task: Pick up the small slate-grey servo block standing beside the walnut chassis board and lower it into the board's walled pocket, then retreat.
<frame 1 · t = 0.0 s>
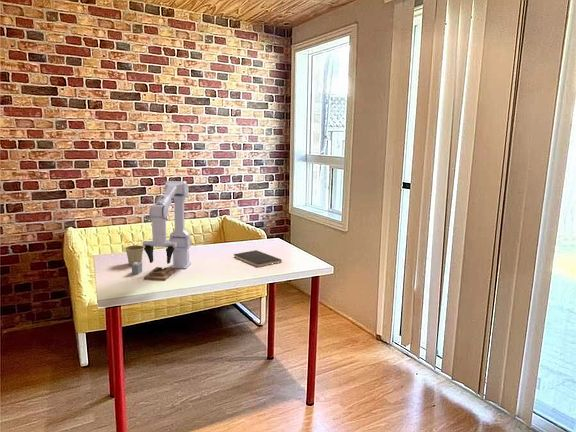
hand: (160, 262, 181), 10 cm above the table, tool pointing down, fingers open, 7 cm apart
servo block: (137, 272, 198), on the table
flower pot: (135, 264, 212), on the table
chassis board: (160, 275, 195), on the table
hardcover book: (257, 261, 226), on the table
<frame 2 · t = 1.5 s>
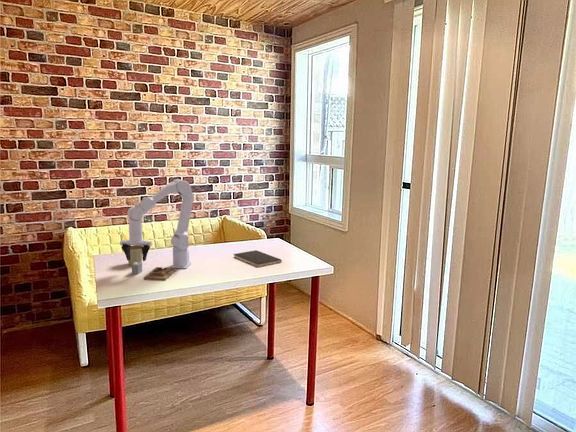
hand: (136, 260, 197), 6 cm above the table, tool pointing down, fingers open, 7 cm apart
nothing on the table moved.
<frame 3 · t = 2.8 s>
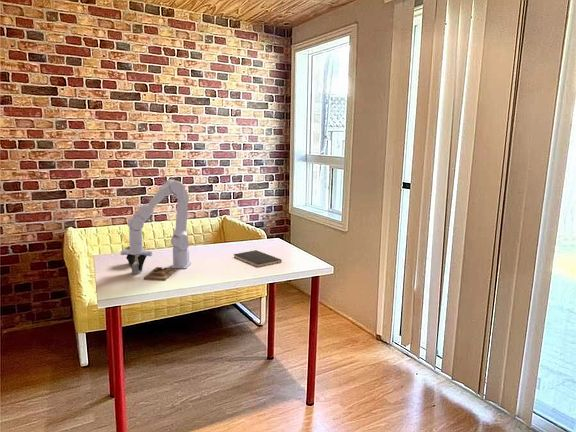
hand: (137, 269, 198), 1 cm above the table, tool pointing down, fingers closed on servo block, 3 cm apart
servo block: (137, 272, 198), on the table, touching gripper
everything else where it was.
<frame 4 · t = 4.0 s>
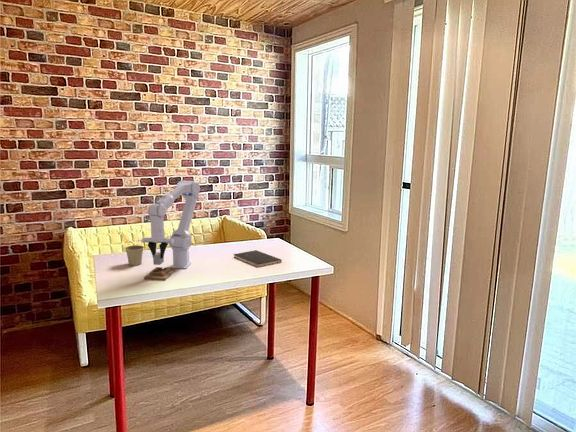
hand: (158, 257, 194), 8 cm above the table, tool pointing down, fingers closed on servo block, 3 cm apart
servo block: (158, 263, 195), point 6 cm above the table, touching gripper
everything else where it was.
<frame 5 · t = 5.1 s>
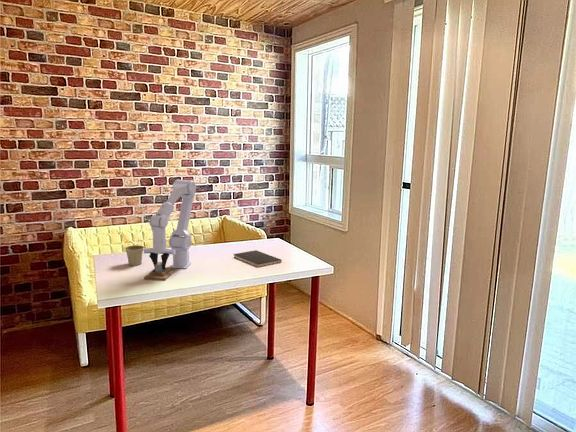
hand: (160, 268, 195), 3 cm above the table, tool pointing down, fingers closed on servo block, 3 cm apart
servo block: (160, 272, 195), point 1 cm above the table, touching chassis board, gripper
everything else where it was.
when the fingers open (3 cm above the table, at t = 5.4 s): servo block stays where it is, resting on chassis board.
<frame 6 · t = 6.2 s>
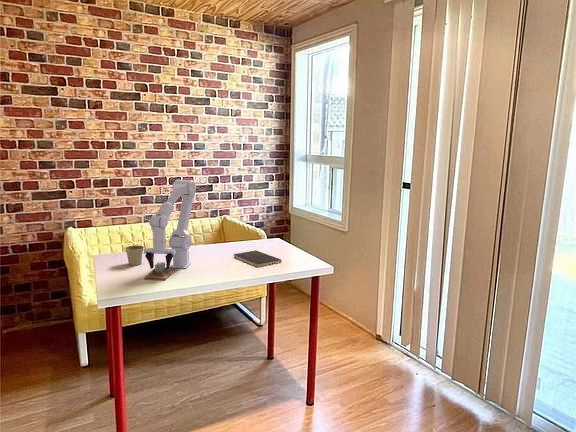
hand: (160, 268, 195), 3 cm above the table, tool pointing down, fingers open, 7 cm apart
servo block: (160, 272, 195), point 1 cm above the table, touching chassis board
everything else where it was.
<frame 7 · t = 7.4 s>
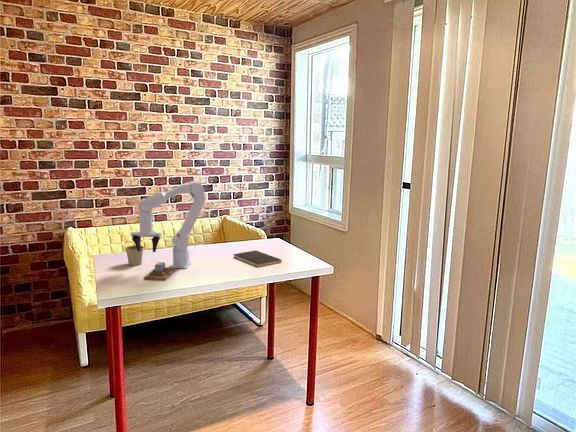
hand: (146, 251, 201), 9 cm above the table, tool pointing down, fingers open, 7 cm apart
nothing on the table moved.
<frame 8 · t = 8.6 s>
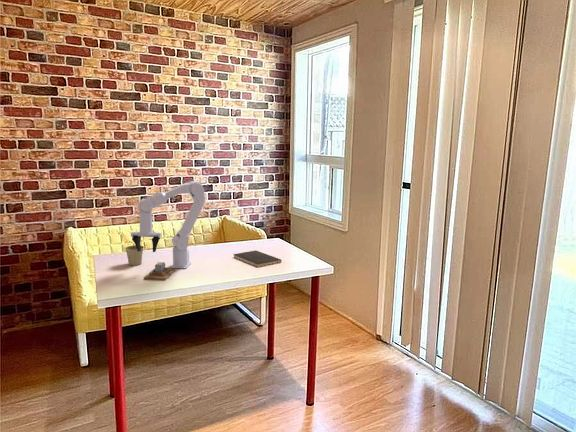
hand: (146, 251, 201), 9 cm above the table, tool pointing down, fingers open, 7 cm apart
nothing on the table moved.
at the end: servo block 0.2 cm off-centre on the chassis board, point 1.0 cm above the chassis board's base; servo block tilted 0° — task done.
